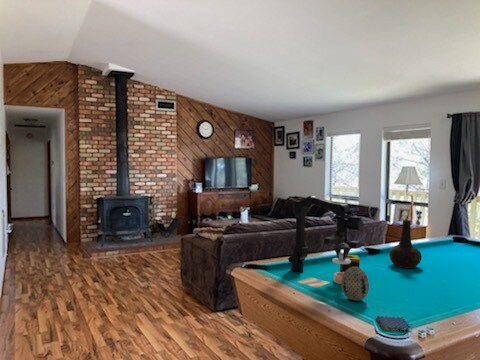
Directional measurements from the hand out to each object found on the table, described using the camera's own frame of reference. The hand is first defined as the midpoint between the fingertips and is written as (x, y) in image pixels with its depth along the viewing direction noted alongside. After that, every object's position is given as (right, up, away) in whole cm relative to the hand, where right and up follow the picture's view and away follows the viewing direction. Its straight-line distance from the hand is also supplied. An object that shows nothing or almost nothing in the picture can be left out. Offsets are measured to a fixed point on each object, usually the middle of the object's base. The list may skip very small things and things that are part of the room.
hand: (341, 259), depth 191 cm
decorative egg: (0, -13, -23) cm, 27 cm away
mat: (-14, -12, 0) cm, 19 cm away
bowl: (+1, -12, +1) cm, 12 cm away
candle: (+9, -12, +17) cm, 23 cm away
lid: (0, -1, 0) cm, 1 cm away
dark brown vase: (+48, -12, +36) cm, 61 cm away
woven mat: (+6, -15, -49) cm, 52 cm away
